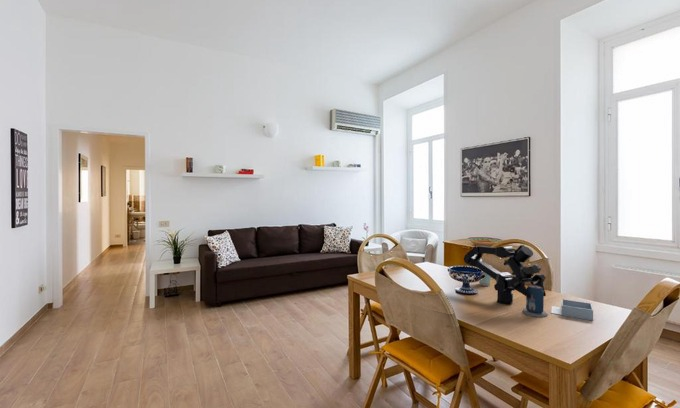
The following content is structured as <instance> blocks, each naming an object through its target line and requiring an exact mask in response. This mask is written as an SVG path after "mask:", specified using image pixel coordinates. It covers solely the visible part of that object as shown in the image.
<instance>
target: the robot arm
mask: <svg viewBox="0 0 680 408" xmlns="http://www.w3.org/2000/svg"><path fill="white" fill-rule="evenodd" d="M483 254H487V255H494V256H497V257H498V258H501V259H504V262H503V266H508V267H509V268H510V270H511V272H512V273H510V272H508V271H506V272H503V271H502V272H500V271H499V270H497V269H496V268H494V267H493V266H492V265H491V264H488V263H487V262H485V261H483V259H482V258H483ZM533 256H534V252H533V250H532V249H530V248H529V247H528V246H525V245H524V244H520V245H519V246H518V248H517V249H516V248H514V247H513V246H512V245H507V246H506V245H505V246H497V247H496V246H489V245H488V246H487V245H475V246H474V247H473V248H471V249H470V250H469V251H467V253H466V254H465V255H464V256H463V262H464V263H465V264H466V265H468V266H470V267H475V268H477V269H478V268H479V269H480V270H481V271H483V272H484V273H486V274H487V275H489V276H490V277H491V278H492V279H493V280H495V282H496V283H495V284H494V285H493V288H494V291H497V295H496V296H497V298H496V299H497V301H496V303H498V304H503V305H504V304H505V305H512V303H513V302H514V293H513V292H514V291H517V292H519V293H520V294H522V295H523V296H525V297H528V298H531V296H530V294H529V292H528V291H527V287H526V283H527V284H529V283H530V285H538V286H541V287H542V289H543V291H544V297H546V296H547V294H546V291H545V288H544V282H545V281H546V279H547V278H546V276H545V274H542V273H541V270H542V267H540V265H539V264H536V263H535V264H532V265H531V266H526V265H525V266H524V264H523V263H526V262H527V261H528V260H530V258H532V257H533ZM507 258H508V259H507ZM490 265H491V266H492V267H491V266H490ZM534 274H535V275H534Z"/></svg>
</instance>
